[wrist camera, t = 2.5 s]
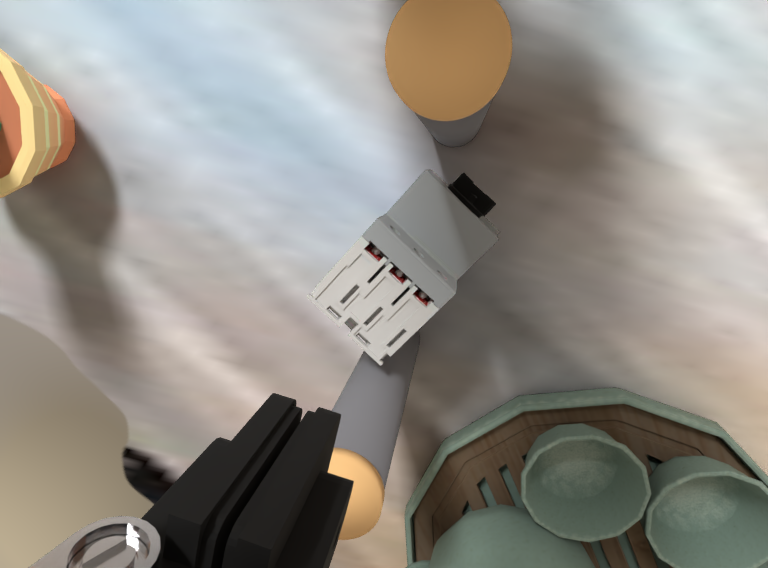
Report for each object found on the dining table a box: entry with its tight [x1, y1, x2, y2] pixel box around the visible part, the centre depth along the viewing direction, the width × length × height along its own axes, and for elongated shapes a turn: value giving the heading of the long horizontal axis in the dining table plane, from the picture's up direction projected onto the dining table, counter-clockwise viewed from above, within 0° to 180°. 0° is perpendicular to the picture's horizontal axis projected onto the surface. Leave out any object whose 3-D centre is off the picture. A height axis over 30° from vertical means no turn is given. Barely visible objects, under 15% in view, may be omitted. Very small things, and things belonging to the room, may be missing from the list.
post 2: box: [385, 0, 512, 147], centre depth 31 cm, size 5×5×25 cm
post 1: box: [328, 331, 420, 540], centre depth 37 cm, size 5×5×25 cm
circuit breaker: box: [307, 170, 500, 366], centre depth 39 cm, size 8×14×15 cm, turn 137°
